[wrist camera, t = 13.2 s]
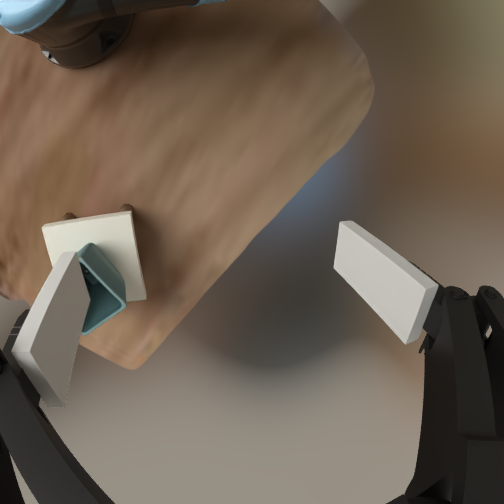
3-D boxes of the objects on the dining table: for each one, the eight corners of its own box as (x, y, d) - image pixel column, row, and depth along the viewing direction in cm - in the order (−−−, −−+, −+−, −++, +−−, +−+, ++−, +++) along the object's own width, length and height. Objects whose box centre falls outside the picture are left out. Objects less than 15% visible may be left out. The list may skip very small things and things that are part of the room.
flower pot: (94, 300, 42) (84, 338, 34) (56, 260, 37) (37, 293, 30) (133, 270, 42) (128, 306, 34) (94, 225, 37) (79, 255, 29)
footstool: (58, 209, 41) (41, 227, 35) (135, 197, 45) (130, 214, 38) (77, 282, 48) (66, 307, 41) (147, 273, 51) (146, 299, 44)
